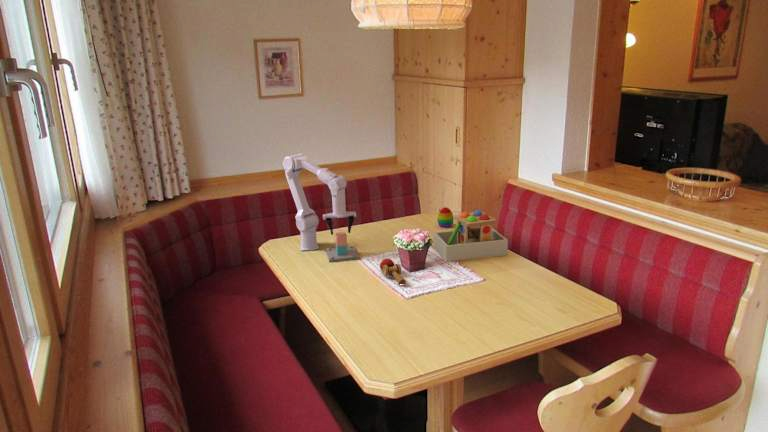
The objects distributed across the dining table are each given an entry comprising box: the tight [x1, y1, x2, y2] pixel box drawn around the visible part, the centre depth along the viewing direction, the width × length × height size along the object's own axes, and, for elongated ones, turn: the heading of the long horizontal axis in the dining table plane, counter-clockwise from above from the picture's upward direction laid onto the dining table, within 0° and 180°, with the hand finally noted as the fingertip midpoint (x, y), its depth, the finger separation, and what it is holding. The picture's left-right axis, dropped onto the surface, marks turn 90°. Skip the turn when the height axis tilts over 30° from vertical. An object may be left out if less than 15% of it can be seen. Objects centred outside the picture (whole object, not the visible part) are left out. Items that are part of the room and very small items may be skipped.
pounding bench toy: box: [447, 209, 498, 245], centre depth 242 cm, size 23×14×18 cm, turn 108°
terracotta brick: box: [334, 230, 348, 246], centre depth 243 cm, size 6×4×4 cm
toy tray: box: [433, 227, 509, 263], centre depth 245 cm, size 19×28×7 cm
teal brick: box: [335, 243, 348, 255], centre depth 245 cm, size 6×4×4 cm
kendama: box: [379, 258, 407, 286], centre depth 220 cm, size 8×6×18 cm
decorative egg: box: [437, 207, 455, 229], centre depth 279 cm, size 8×8×10 cm
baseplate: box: [325, 245, 360, 263], centre depth 246 cm, size 14×13×2 cm
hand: (340, 233), depth 243 cm, fingers open, 7 cm apart
